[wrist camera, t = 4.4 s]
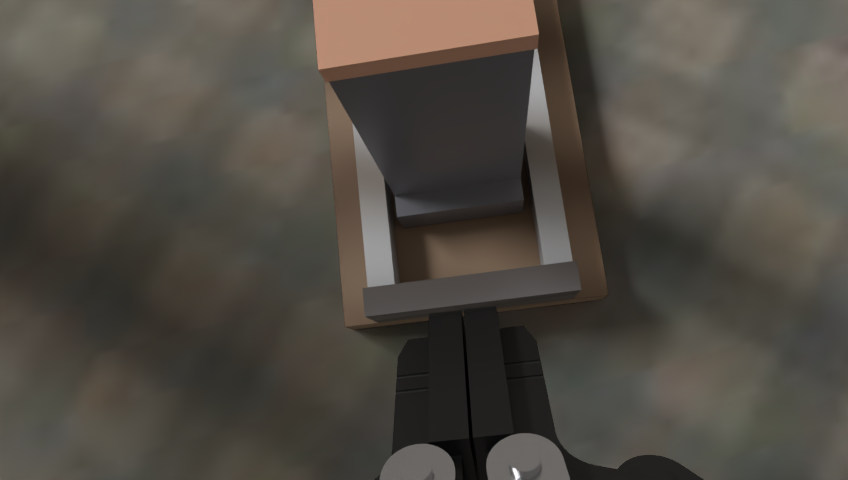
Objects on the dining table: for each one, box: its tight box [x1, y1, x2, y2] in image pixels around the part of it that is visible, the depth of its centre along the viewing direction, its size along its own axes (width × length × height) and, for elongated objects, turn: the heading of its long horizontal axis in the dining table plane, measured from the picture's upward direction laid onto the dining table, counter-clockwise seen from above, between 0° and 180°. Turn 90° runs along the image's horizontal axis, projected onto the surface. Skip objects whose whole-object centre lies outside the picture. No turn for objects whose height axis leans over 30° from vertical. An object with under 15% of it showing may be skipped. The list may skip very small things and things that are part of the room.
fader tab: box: [313, 0, 539, 228], centre depth 20 cm, size 4×5×12 cm
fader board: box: [325, 0, 608, 330], centre depth 26 cm, size 22×10×4 cm, turn 6°
